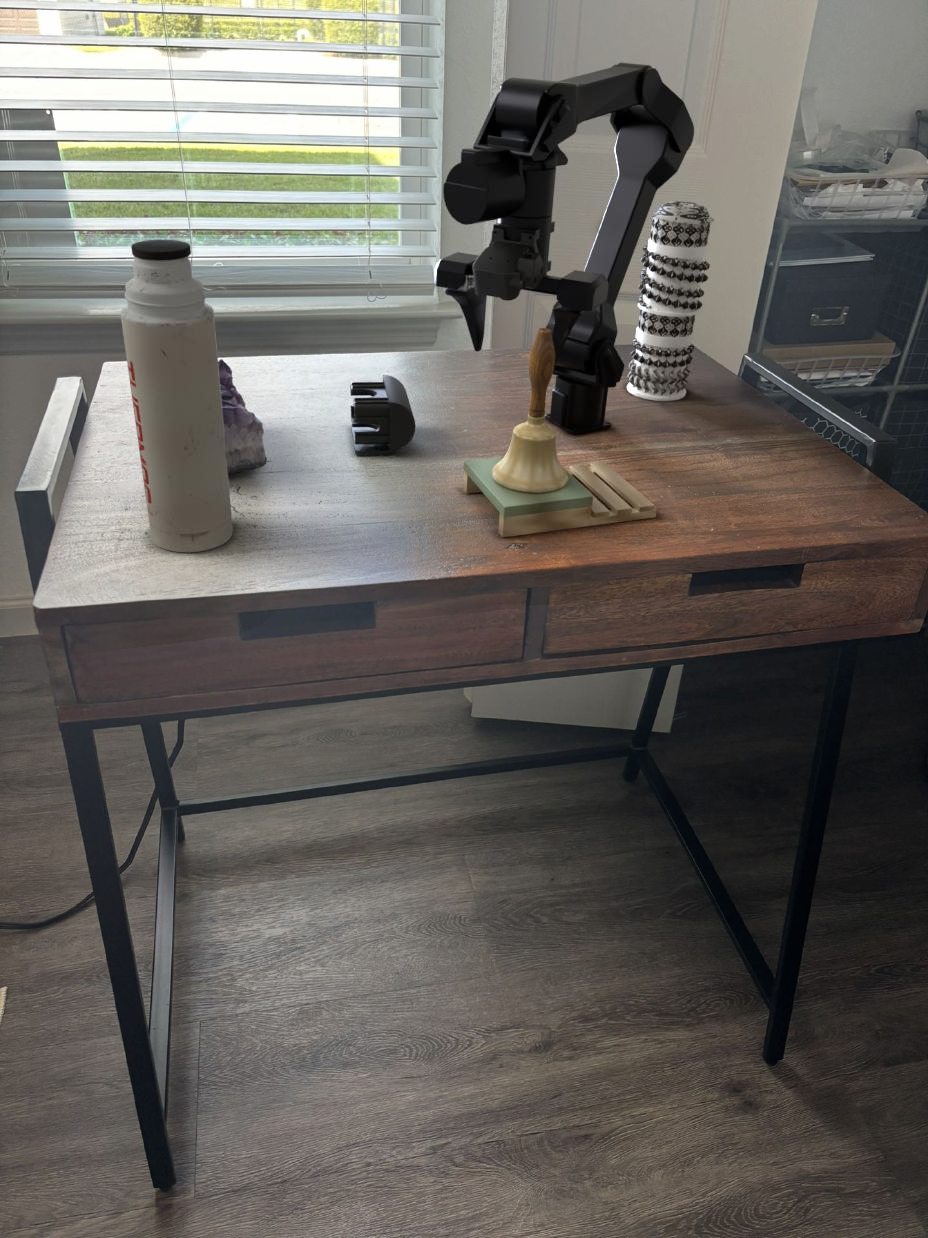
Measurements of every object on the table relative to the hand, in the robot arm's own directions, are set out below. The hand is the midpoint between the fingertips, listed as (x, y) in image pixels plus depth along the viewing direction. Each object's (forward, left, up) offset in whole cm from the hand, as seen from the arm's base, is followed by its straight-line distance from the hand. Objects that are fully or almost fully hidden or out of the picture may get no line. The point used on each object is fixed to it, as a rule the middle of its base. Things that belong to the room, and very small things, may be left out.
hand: (514, 357), depth 115 cm
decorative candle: (-32, -11, -12) cm, 36 cm away
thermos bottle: (+40, +4, -12) cm, 42 cm away
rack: (+1, +14, -12) cm, 18 cm away
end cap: (+12, -10, -12) cm, 20 cm away
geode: (+32, -15, -12) cm, 37 cm away
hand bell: (+6, +13, -9) cm, 17 cm away
